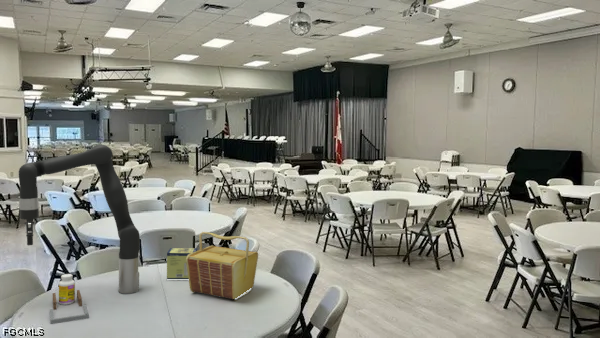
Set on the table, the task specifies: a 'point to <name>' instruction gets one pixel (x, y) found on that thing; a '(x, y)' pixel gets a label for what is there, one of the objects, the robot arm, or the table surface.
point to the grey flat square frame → (69, 316)
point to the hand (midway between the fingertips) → (30, 243)
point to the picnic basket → (221, 269)
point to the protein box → (178, 262)
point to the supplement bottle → (66, 289)
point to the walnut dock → (77, 300)
